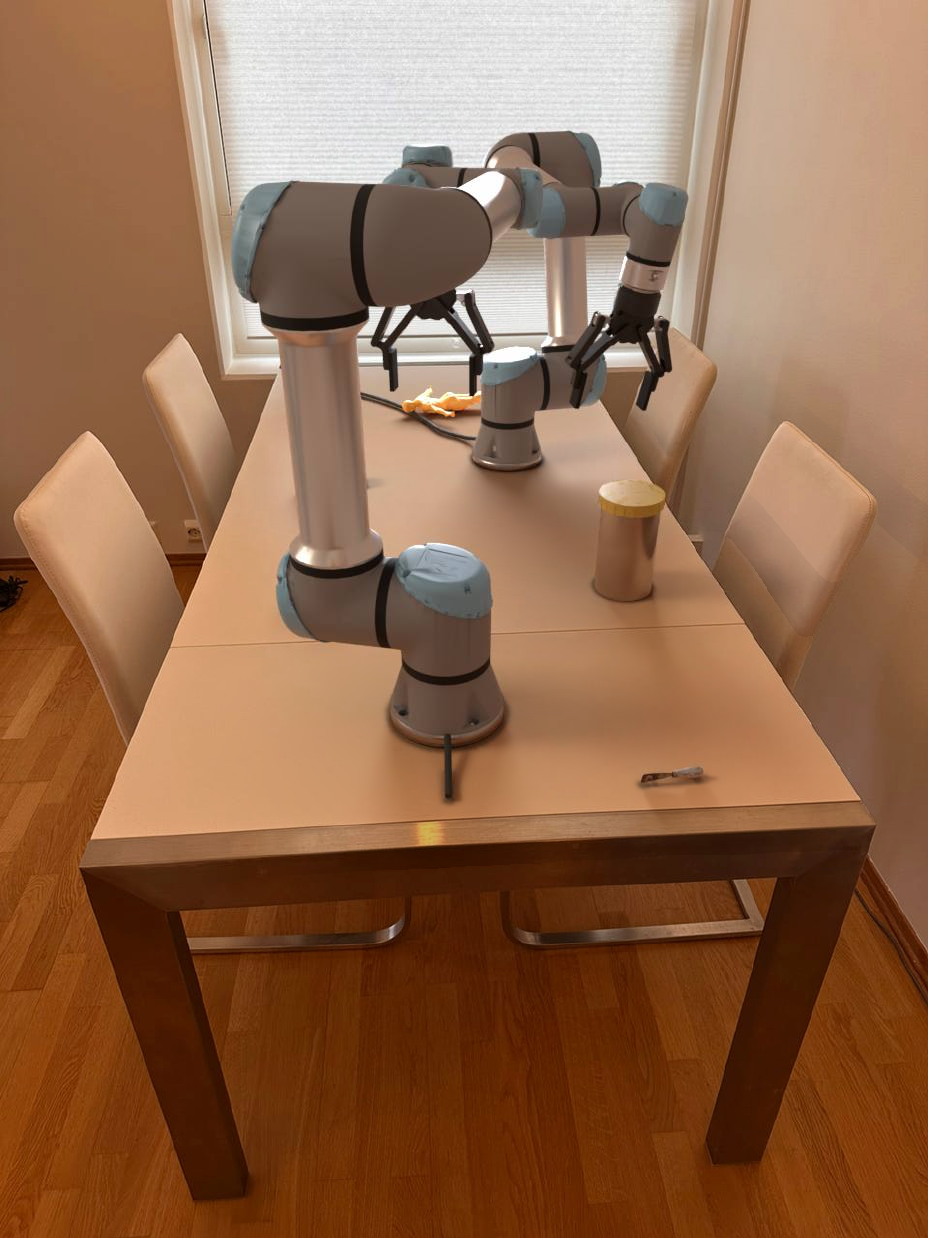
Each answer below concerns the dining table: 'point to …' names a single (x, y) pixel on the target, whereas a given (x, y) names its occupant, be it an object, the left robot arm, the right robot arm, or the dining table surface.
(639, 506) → the lid
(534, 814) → the dining table surface
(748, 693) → the dining table surface
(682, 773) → the putty knife
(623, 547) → the jar
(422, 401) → the human figure
